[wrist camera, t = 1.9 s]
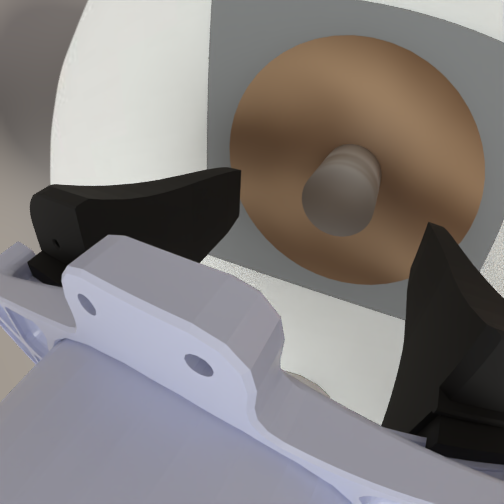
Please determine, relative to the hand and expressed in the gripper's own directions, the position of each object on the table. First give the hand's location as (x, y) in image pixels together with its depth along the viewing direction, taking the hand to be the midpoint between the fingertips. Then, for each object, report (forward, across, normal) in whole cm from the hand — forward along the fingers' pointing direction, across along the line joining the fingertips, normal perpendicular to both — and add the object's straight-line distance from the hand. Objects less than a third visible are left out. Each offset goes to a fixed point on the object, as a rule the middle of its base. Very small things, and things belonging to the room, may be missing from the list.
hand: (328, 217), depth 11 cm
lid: (+6, 0, 0) cm, 6 cm away
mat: (+7, 0, 0) cm, 7 cm away
